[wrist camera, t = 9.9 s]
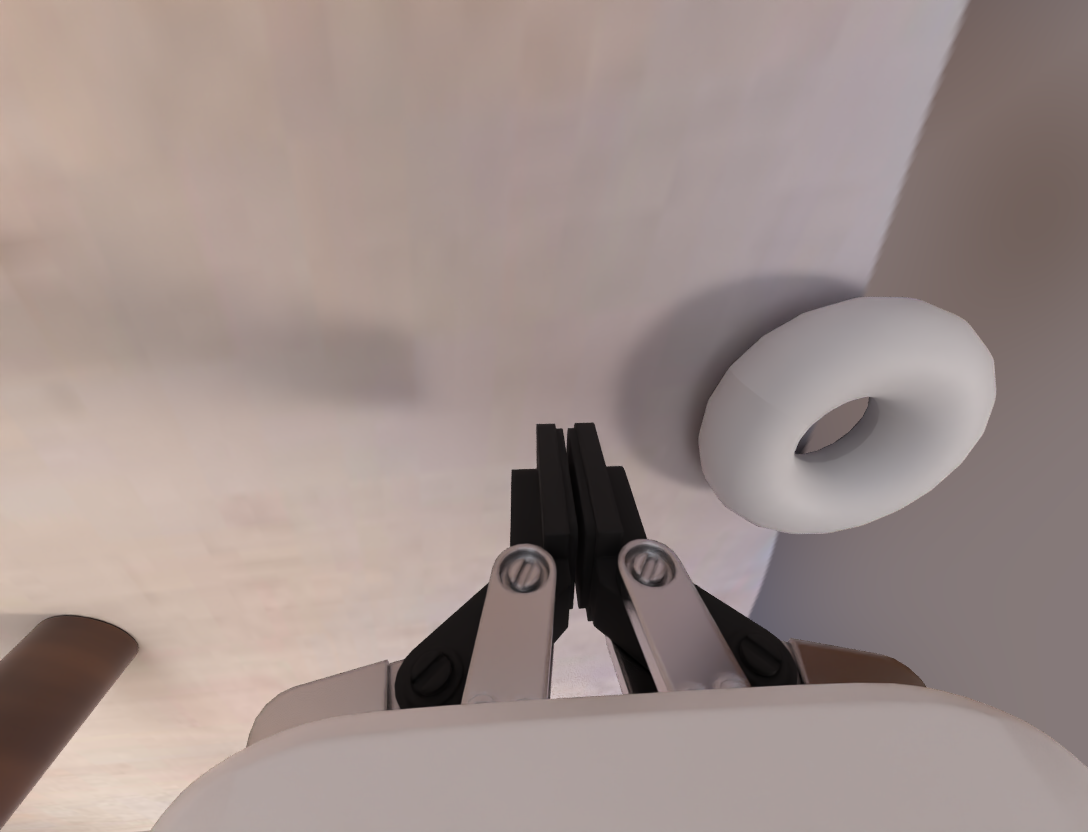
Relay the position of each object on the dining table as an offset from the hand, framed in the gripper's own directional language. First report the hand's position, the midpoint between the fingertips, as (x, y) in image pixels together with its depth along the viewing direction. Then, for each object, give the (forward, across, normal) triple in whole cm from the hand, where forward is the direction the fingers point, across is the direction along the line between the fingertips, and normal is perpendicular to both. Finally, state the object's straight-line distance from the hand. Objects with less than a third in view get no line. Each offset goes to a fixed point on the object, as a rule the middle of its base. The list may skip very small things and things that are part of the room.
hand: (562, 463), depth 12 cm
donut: (+5, -11, +1) cm, 12 cm away
